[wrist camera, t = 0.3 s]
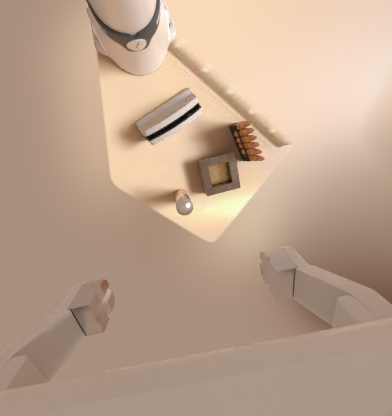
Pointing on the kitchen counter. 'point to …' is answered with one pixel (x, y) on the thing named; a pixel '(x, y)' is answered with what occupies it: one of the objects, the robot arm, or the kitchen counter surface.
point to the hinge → (170, 117)
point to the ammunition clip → (246, 141)
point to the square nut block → (219, 173)
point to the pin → (183, 202)
